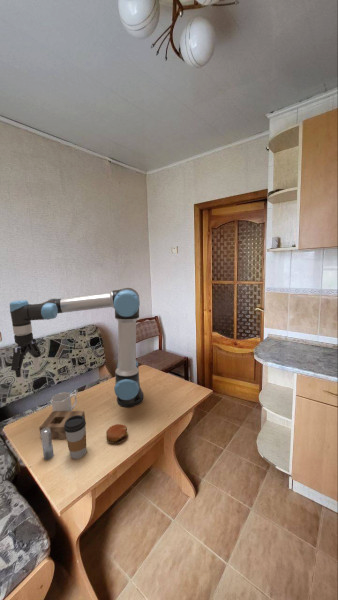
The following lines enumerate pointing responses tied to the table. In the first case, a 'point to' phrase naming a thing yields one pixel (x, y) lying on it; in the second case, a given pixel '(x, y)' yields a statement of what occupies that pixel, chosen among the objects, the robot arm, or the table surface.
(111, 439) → the burger
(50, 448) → the pin
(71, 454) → the coffee cup
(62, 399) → the mug
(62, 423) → the socket block
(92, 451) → the table surface
